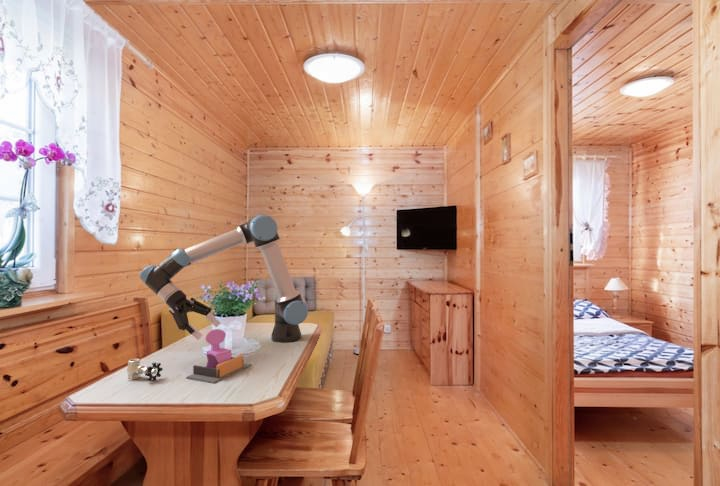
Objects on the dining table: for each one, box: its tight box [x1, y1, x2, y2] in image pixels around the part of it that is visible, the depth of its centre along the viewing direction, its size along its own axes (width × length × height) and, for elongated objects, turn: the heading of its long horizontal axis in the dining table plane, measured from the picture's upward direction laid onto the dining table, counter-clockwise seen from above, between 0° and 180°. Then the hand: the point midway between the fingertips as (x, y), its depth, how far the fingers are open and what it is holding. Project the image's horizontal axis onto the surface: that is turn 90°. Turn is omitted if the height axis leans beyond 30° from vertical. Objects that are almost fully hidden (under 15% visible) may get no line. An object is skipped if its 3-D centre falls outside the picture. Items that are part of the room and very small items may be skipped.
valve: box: [126, 358, 163, 382], centre depth 132 cm, size 7×7×12 cm
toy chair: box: [204, 328, 233, 368], centre depth 139 cm, size 8×9×15 cm
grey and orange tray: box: [185, 354, 252, 384], centre depth 139 cm, size 20×13×5 cm, turn 158°
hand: (209, 331), depth 151 cm, fingers open, 13 cm apart
